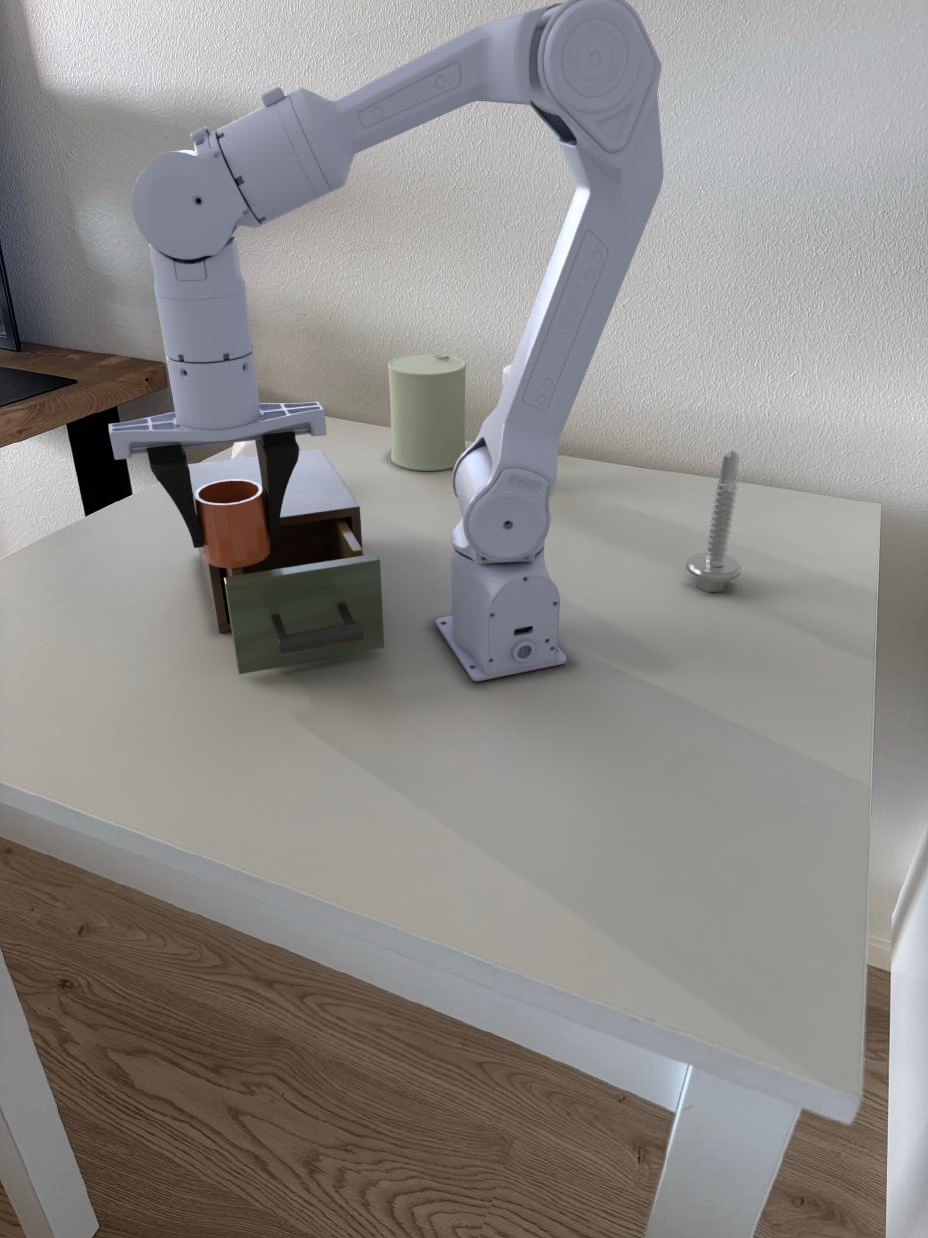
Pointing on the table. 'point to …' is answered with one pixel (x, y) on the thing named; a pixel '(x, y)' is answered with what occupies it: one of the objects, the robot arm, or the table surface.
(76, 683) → the table surface
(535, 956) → the table surface
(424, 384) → the can
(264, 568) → the drawer
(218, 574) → the cabinet
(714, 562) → the screw
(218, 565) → the cup
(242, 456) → the geometric ball
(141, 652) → the table surface
